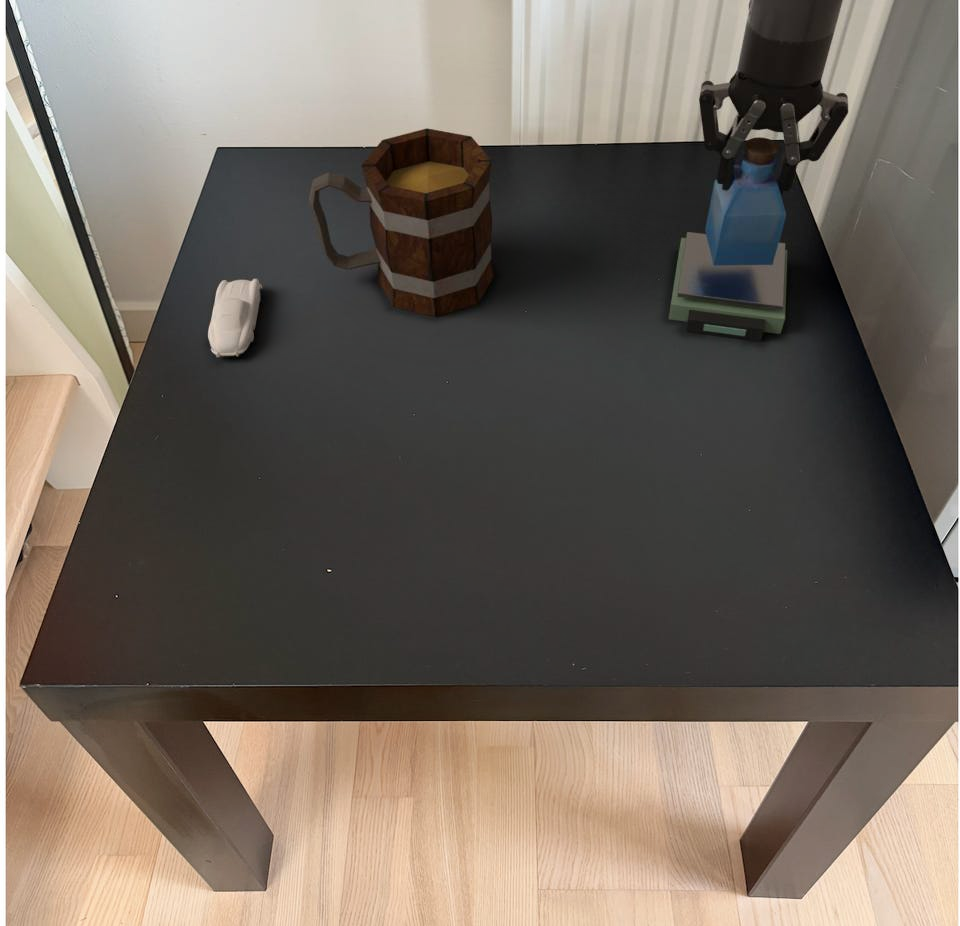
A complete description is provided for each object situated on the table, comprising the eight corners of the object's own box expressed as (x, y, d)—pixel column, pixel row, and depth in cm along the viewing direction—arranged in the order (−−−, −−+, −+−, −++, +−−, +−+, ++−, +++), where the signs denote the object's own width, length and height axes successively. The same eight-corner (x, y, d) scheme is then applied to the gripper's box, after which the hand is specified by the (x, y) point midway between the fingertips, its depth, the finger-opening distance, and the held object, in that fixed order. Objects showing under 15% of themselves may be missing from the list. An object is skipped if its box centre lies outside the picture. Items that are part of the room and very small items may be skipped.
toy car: (264, 288, 105) (258, 264, 102) (252, 361, 97) (245, 337, 95) (223, 290, 105) (215, 266, 102) (207, 363, 97) (198, 339, 95)
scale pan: (783, 251, 103) (785, 243, 102) (780, 314, 96) (783, 306, 96) (685, 240, 105) (687, 231, 104) (676, 301, 98) (677, 292, 97)
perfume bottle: (772, 264, 96) (800, 163, 86) (713, 265, 96) (734, 164, 87) (761, 229, 100) (787, 128, 90) (705, 230, 100) (724, 129, 90)
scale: (783, 265, 105) (787, 249, 103) (780, 345, 97) (784, 330, 95) (678, 252, 107) (681, 237, 105) (666, 330, 99) (669, 314, 97)
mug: (491, 240, 110) (489, 125, 98) (496, 314, 101) (494, 198, 90) (329, 246, 110) (308, 133, 98) (320, 321, 101) (295, 206, 90)
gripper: (705, 31, 78) (677, 202, 91) (879, 45, 75) (825, 218, 89) (711, -7, 82) (684, 161, 96) (876, 5, 80) (824, 175, 93)
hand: (752, 188), depth 92 cm, fingers closed on perfume bottle, 4 cm apart
